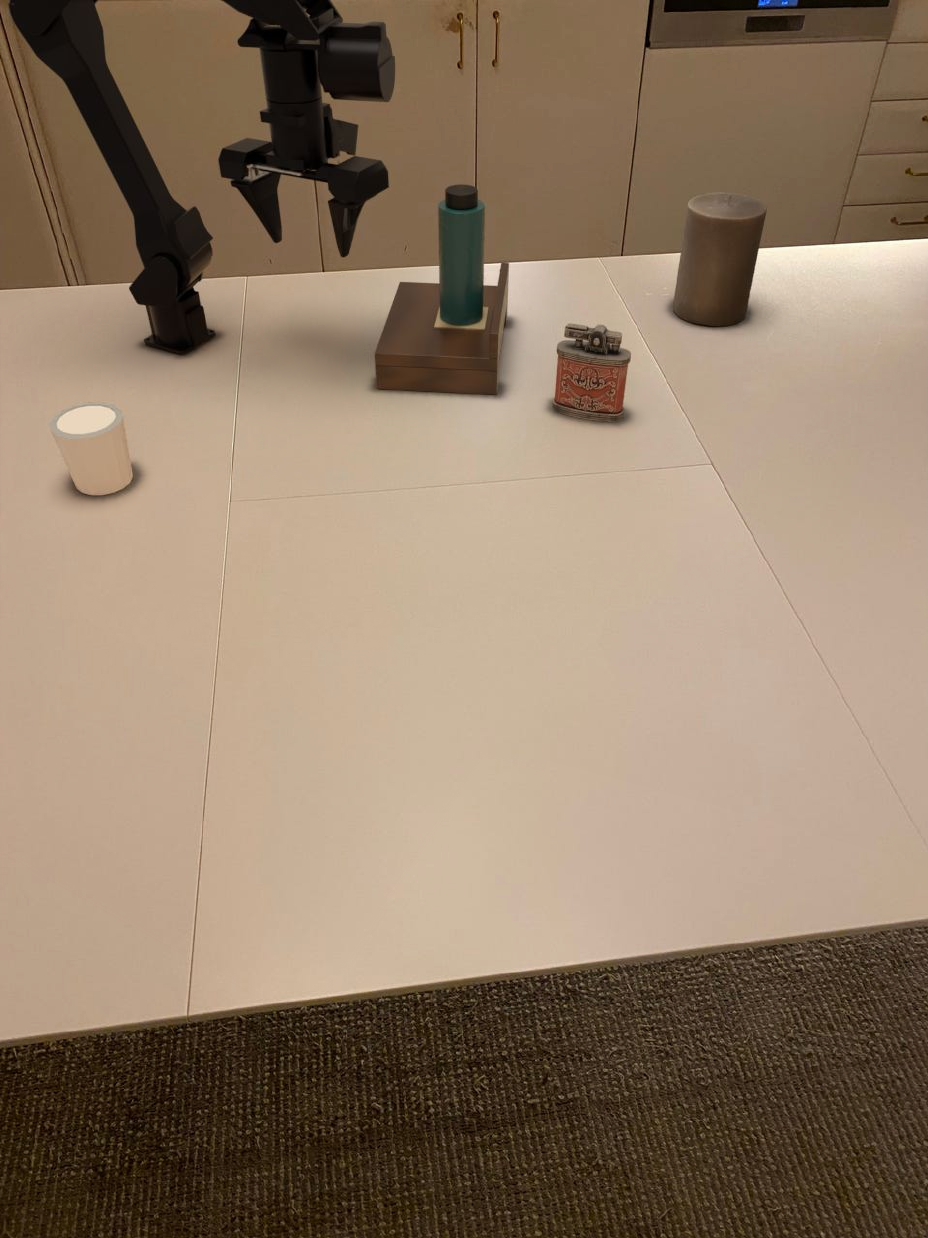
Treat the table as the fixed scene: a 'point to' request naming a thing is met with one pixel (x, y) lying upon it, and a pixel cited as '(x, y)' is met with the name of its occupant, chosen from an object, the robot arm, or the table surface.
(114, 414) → the cream cylinder
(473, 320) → the water bottle
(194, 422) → the table surface
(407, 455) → the table surface
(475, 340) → the wooden box
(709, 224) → the pillar candle
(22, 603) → the table surface
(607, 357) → the lighter
